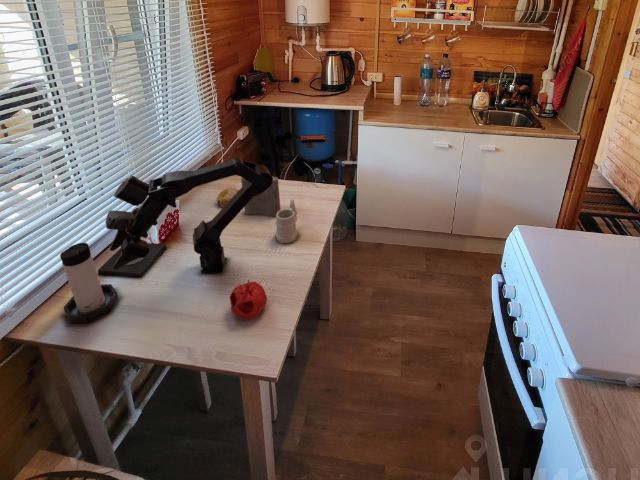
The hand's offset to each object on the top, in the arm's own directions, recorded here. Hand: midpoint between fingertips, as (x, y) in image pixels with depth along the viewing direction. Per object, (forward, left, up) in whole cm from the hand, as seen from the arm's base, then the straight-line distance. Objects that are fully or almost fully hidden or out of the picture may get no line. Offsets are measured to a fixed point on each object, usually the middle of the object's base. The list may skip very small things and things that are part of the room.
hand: (112, 259), depth 105 cm
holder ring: (+7, +3, -13) cm, 15 cm away
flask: (-32, -42, -14) cm, 55 cm away
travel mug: (+7, +3, -14) cm, 15 cm away
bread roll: (-17, -50, -14) cm, 54 cm away
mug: (-44, -28, -14) cm, 54 cm away
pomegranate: (-37, +6, -14) cm, 40 cm away
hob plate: (+5, -16, -13) cm, 21 cm away
